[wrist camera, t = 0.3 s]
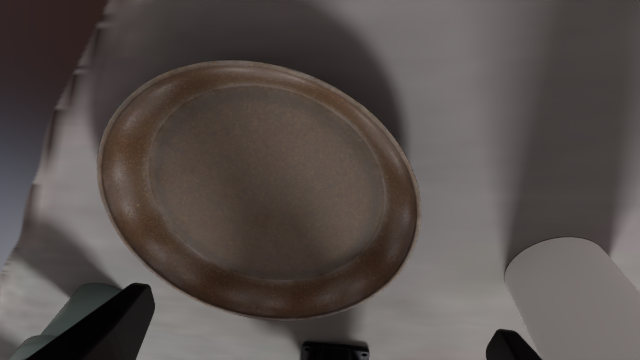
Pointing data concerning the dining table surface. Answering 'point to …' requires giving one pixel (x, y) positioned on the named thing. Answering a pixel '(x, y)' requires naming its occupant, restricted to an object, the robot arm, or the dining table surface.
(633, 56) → the dining table surface
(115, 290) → the glazed flower pot
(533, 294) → the cylindrical container
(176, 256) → the plant saucer
